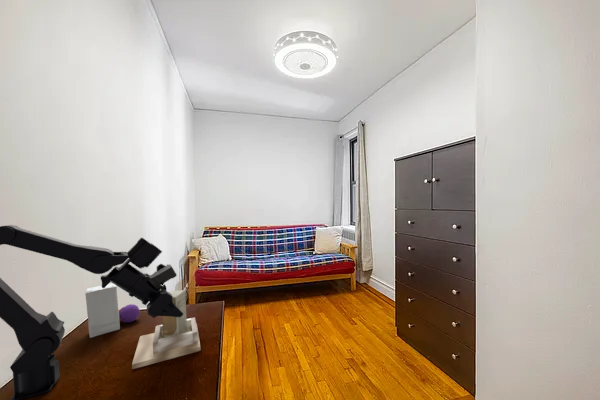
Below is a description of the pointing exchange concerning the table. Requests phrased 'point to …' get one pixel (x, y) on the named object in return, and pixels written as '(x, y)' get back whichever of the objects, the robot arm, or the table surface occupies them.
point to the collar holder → (166, 345)
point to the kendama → (129, 313)
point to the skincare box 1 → (102, 309)
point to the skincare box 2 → (176, 323)
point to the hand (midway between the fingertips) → (179, 311)
